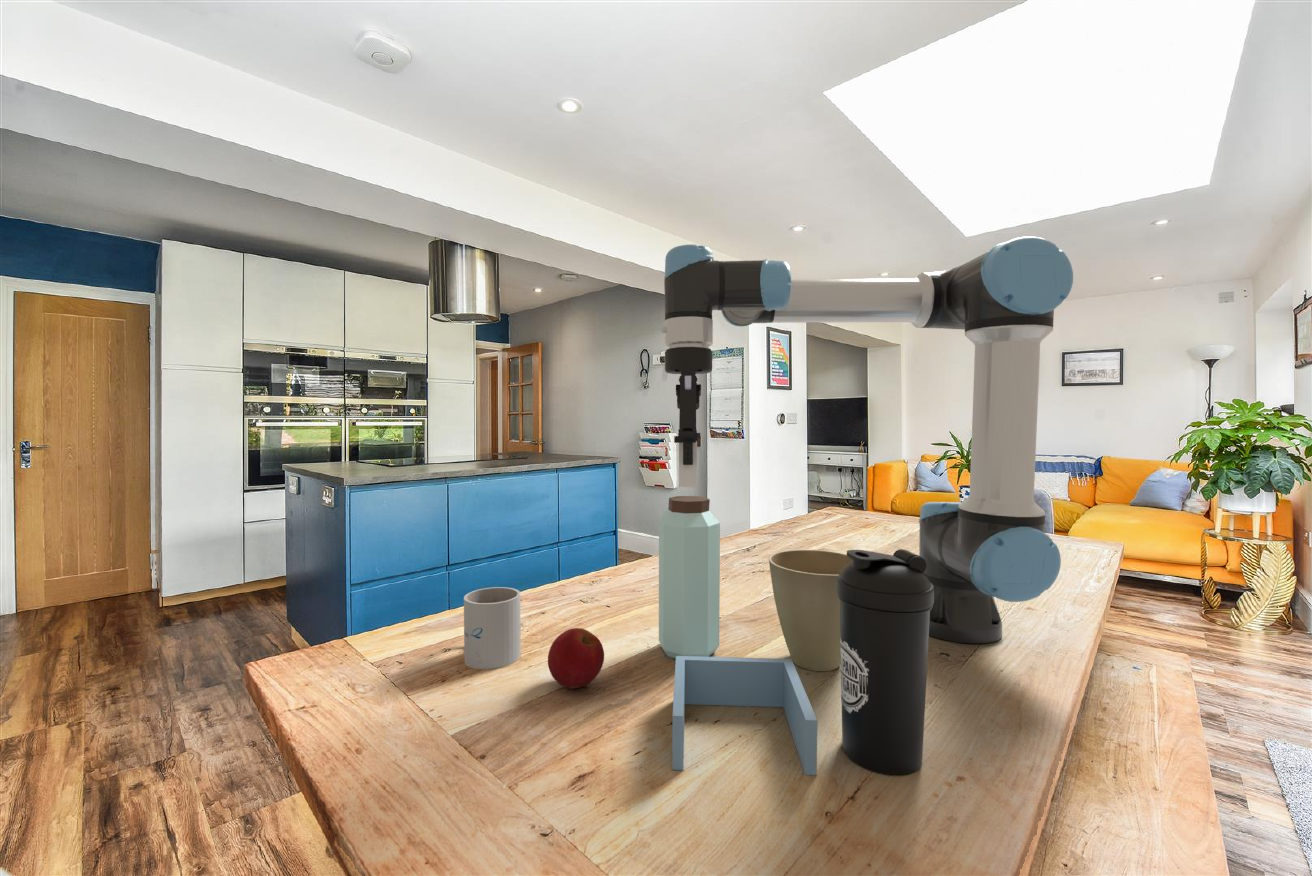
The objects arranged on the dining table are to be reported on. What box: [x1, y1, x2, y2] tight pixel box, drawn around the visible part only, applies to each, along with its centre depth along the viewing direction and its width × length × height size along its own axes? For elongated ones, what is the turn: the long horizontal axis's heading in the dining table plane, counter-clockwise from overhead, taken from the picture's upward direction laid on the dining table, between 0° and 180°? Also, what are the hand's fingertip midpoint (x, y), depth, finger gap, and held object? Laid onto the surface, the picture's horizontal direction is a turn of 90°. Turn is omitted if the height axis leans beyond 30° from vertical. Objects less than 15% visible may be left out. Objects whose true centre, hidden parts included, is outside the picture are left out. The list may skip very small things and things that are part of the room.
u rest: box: [671, 656, 818, 776], centre depth 69 cm, size 15×15×6 cm
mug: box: [463, 586, 522, 670], centre depth 92 cm, size 12×9×10 cm
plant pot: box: [768, 549, 852, 672], centre depth 89 cm, size 15×15×16 cm
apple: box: [547, 627, 605, 690], centre depth 81 cm, size 8×8×8 cm
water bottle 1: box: [658, 495, 721, 660], centre depth 93 cm, size 10×10×25 cm
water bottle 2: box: [836, 548, 934, 777], centre depth 64 cm, size 10×10×23 cm
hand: (688, 482), depth 91 cm, fingers open, 13 cm apart
